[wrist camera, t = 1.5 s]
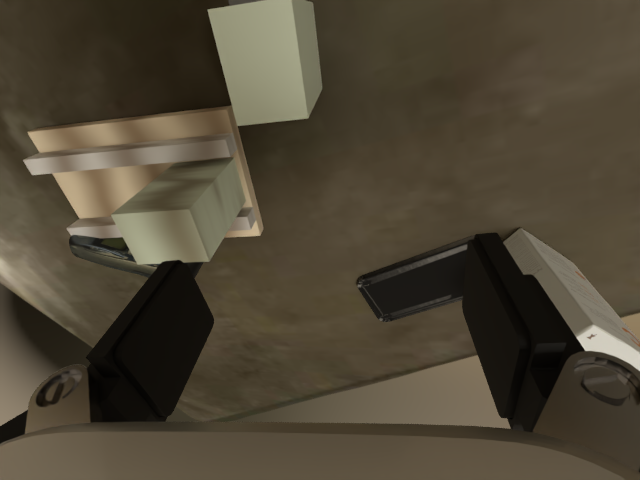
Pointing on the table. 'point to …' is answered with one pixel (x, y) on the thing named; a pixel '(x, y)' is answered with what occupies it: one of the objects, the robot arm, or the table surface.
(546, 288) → the small box
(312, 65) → the pale green tall block
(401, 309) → the phone
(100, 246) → the mobile phone
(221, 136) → the rail board
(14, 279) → the table surface
